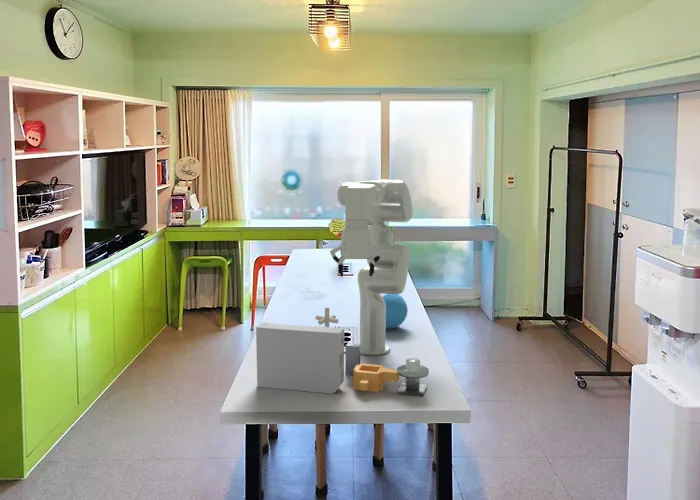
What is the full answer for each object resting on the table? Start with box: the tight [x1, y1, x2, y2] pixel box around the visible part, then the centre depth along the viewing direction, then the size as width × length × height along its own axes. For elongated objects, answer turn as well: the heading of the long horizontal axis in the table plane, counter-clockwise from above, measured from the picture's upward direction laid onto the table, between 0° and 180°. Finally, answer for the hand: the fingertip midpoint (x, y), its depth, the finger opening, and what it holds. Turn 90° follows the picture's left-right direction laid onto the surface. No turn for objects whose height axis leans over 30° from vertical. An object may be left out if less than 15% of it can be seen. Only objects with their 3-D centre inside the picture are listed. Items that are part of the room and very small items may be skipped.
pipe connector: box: [315, 306, 339, 327], centre depth 280 cm, size 10×10×10 cm
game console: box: [255, 322, 345, 395], centre depth 220 cm, size 6×27×20 cm, turn 77°
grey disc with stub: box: [396, 357, 430, 398], centre depth 218 cm, size 10×10×10 cm
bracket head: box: [352, 362, 400, 393], centre depth 219 cm, size 12×14×6 cm
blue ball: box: [382, 294, 408, 330], centre depth 285 cm, size 16×19×15 cm
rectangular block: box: [344, 342, 361, 376], centre depth 233 cm, size 3×4×10 cm
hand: (356, 275), depth 228 cm, fingers open, 9 cm apart
